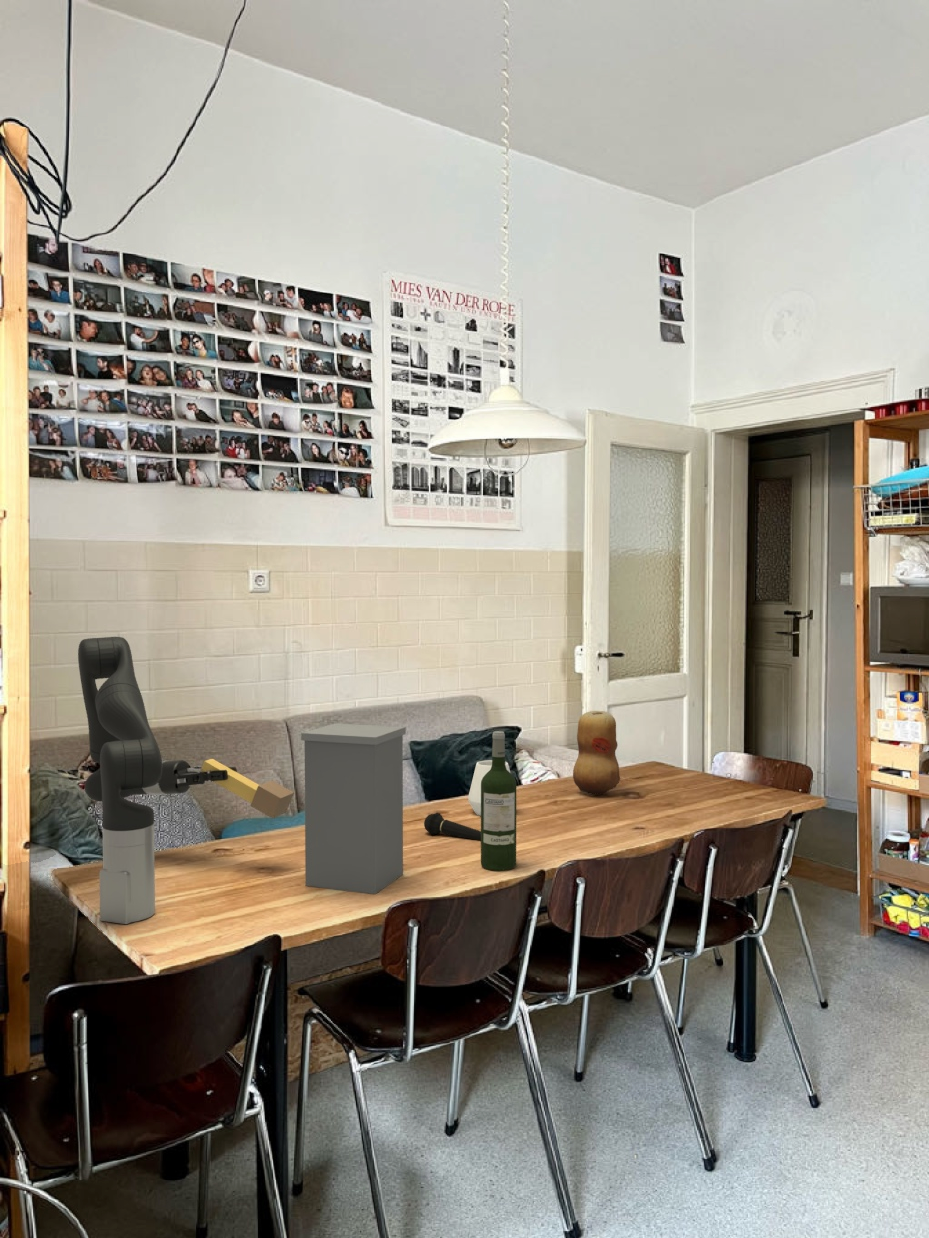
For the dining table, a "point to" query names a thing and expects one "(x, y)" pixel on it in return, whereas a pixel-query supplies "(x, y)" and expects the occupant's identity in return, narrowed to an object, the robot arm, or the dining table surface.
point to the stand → (353, 807)
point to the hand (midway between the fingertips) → (231, 773)
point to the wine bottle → (498, 812)
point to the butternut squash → (596, 753)
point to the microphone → (449, 827)
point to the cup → (479, 784)
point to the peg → (254, 790)
